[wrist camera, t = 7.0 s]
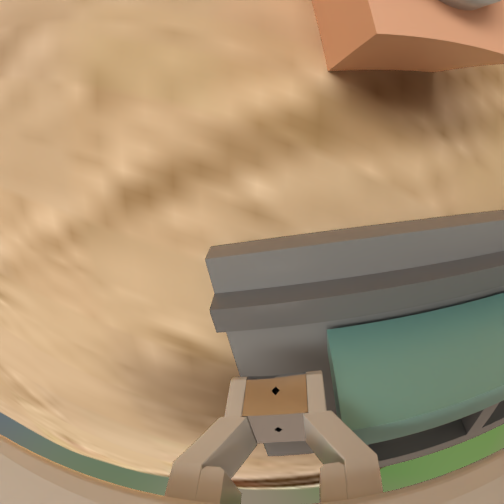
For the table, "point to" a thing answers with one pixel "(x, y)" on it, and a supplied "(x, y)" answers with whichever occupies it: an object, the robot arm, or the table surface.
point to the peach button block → (410, 34)
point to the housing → (353, 301)
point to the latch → (418, 369)
